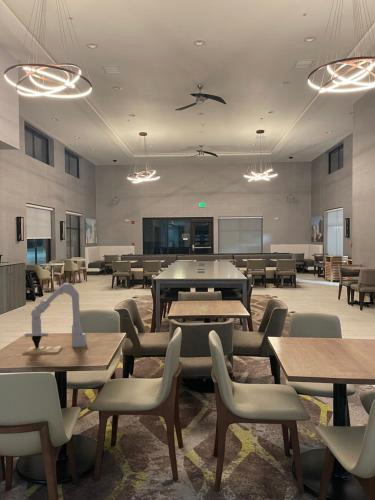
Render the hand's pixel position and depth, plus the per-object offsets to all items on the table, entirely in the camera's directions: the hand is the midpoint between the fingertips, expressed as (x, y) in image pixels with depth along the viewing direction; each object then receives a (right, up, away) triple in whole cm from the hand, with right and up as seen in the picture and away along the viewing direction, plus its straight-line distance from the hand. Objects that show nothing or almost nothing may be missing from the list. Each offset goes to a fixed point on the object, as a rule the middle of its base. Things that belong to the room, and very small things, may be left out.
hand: (37, 347), depth 268 cm
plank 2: (+11, -1, -1) cm, 11 cm away
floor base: (+6, -2, -4) cm, 7 cm away
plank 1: (0, -1, -1) cm, 2 cm away
